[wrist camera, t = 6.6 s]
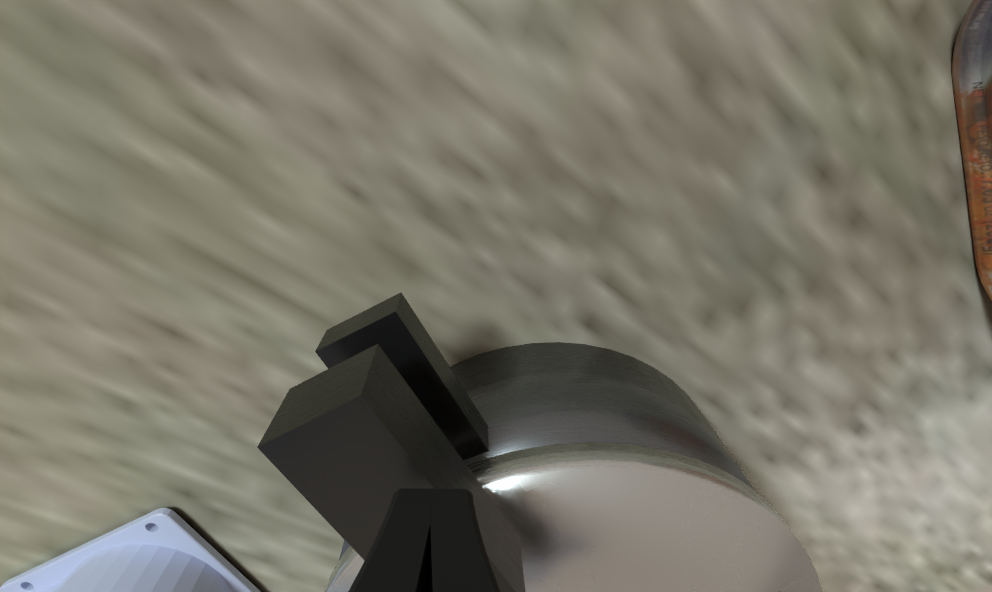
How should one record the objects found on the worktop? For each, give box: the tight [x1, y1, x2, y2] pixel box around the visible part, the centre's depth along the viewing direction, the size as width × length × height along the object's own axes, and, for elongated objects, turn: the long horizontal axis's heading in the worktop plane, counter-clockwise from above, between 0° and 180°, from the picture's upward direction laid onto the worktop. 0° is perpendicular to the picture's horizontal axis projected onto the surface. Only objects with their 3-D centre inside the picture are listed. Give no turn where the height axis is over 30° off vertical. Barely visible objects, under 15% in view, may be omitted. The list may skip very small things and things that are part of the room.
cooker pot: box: [315, 293, 754, 560], centre depth 19 cm, size 16×21×6 cm
